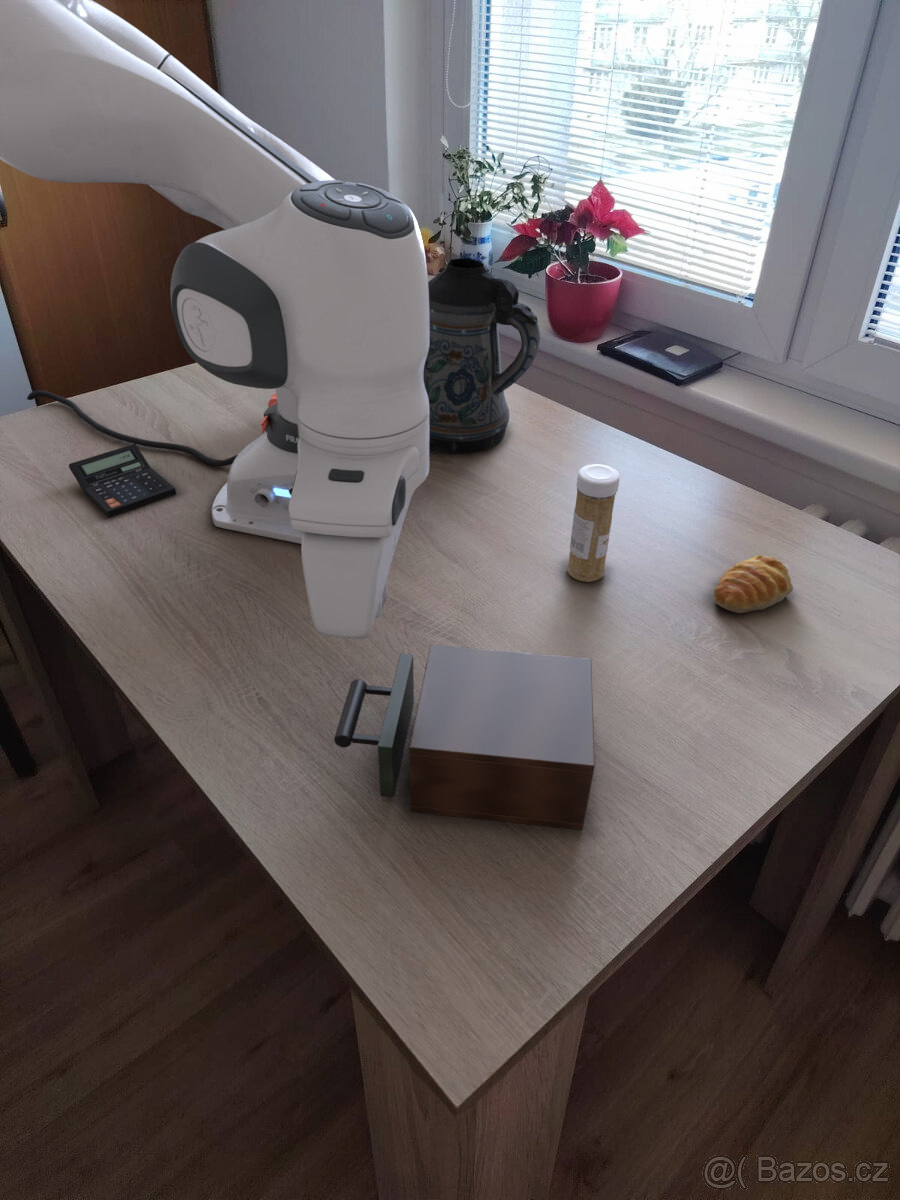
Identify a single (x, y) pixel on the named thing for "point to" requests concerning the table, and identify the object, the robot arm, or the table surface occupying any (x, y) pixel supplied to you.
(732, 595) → the pastry
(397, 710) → the drawer
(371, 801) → the table surface
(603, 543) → the sprinkles bottle
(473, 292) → the beer stein
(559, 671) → the cabinet
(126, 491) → the calculator
